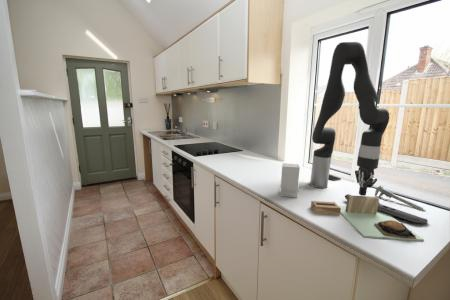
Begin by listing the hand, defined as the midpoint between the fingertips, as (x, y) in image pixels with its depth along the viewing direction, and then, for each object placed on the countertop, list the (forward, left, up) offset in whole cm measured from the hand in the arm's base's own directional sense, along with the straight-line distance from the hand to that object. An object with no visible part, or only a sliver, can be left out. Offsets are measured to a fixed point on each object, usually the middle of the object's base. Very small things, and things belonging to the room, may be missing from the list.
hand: (362, 194), depth 96 cm
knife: (-1, +10, -7) cm, 12 cm away
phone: (-48, +5, -8) cm, 49 cm away
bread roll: (+18, +3, -7) cm, 19 cm away
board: (+3, +5, -3) cm, 7 cm away
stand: (+3, -16, -7) cm, 18 cm away
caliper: (-11, +24, -8) cm, 28 cm away
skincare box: (-13, -28, -7) cm, 32 cm away
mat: (+10, 0, -7) cm, 12 cm away
